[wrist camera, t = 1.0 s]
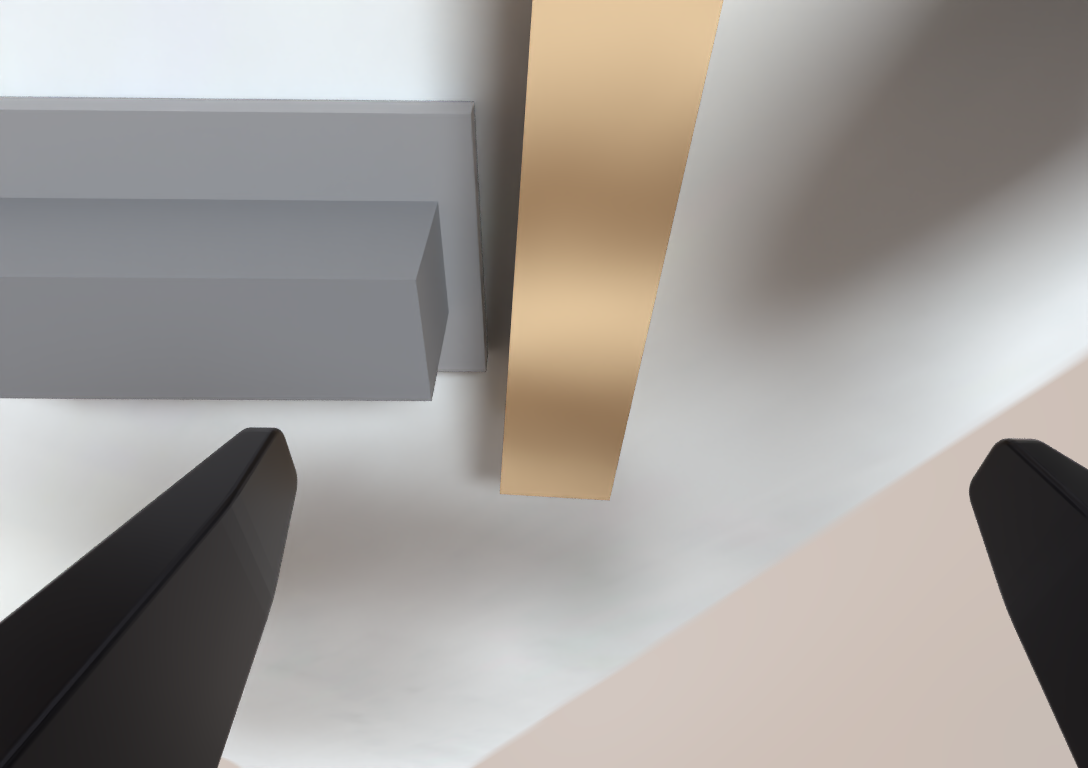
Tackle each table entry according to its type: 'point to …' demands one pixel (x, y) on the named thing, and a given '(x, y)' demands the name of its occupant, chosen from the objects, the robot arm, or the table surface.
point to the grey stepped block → (238, 248)
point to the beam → (594, 226)
